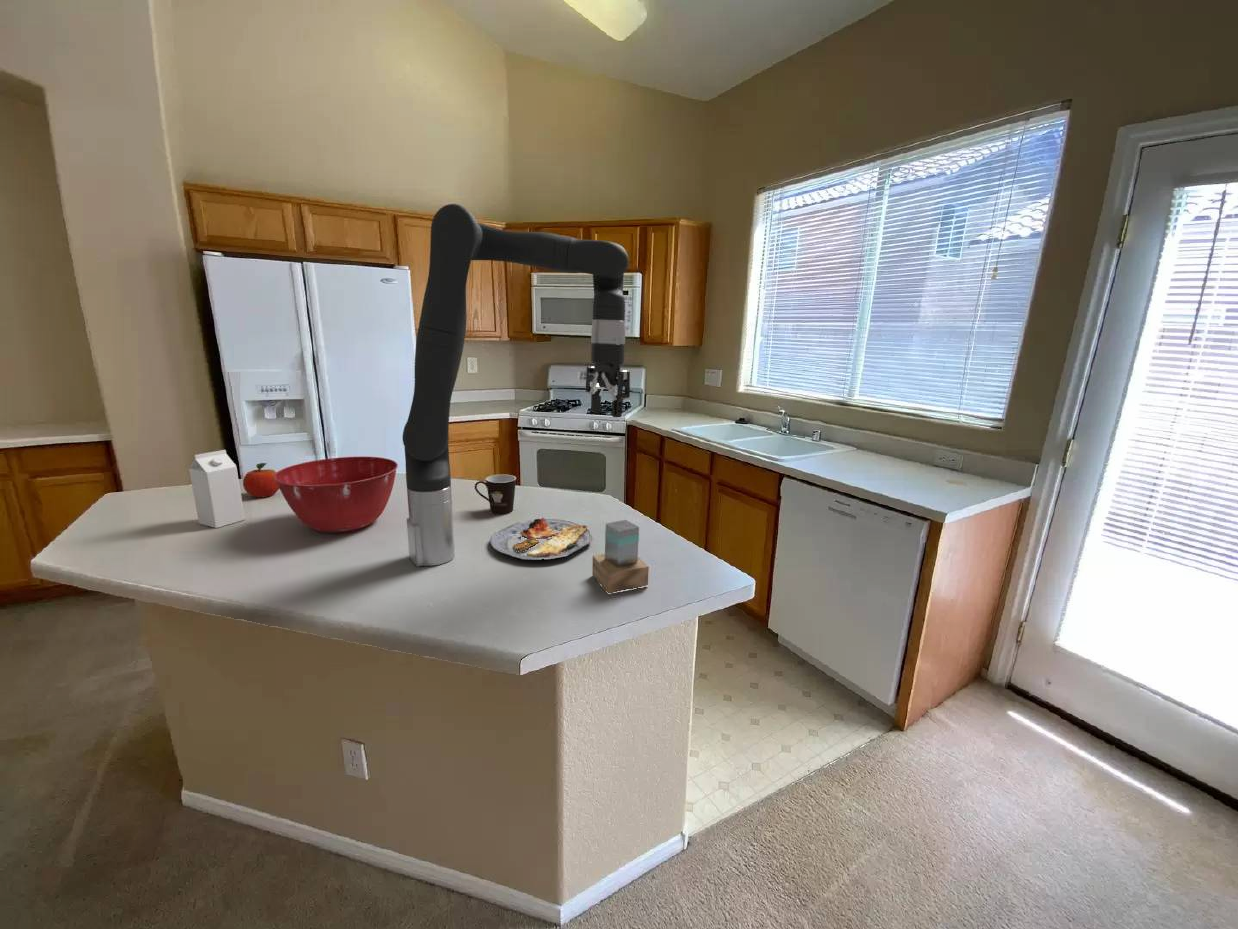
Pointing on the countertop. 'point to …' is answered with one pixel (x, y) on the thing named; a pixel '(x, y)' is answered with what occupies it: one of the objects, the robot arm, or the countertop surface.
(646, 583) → the tan block
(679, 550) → the countertop surface
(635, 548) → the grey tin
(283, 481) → the mixing bowl
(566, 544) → the food plate
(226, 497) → the milk carton
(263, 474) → the fruit
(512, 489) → the coffee mug
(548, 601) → the countertop surface
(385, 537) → the countertop surface
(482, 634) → the countertop surface
